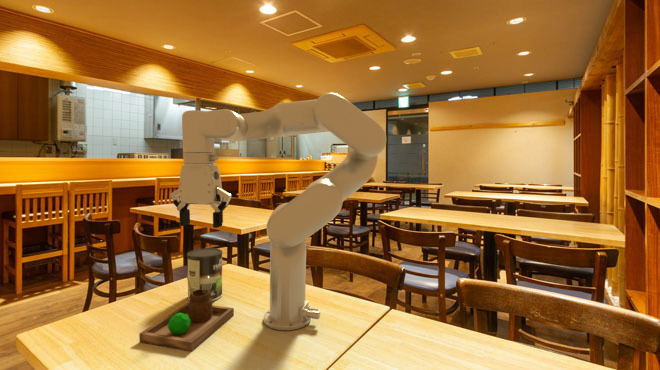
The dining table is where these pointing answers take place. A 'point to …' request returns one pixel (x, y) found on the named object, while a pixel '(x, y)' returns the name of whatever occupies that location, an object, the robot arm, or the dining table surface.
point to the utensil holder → (200, 304)
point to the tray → (193, 335)
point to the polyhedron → (179, 323)
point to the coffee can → (205, 271)
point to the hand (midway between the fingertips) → (201, 225)
